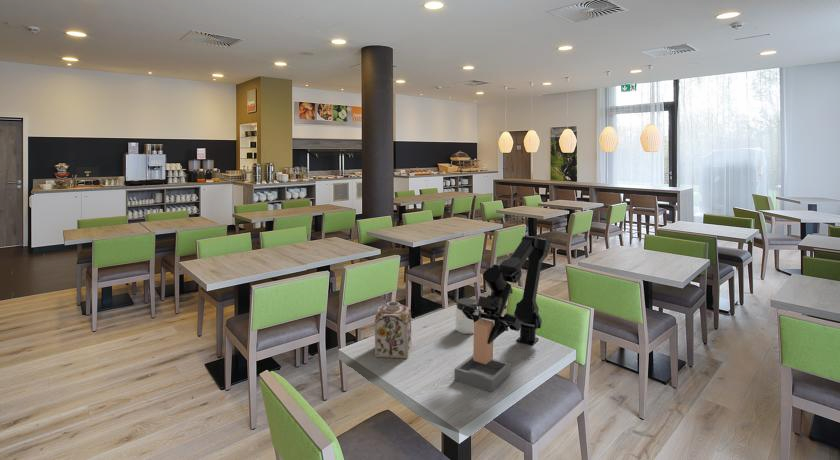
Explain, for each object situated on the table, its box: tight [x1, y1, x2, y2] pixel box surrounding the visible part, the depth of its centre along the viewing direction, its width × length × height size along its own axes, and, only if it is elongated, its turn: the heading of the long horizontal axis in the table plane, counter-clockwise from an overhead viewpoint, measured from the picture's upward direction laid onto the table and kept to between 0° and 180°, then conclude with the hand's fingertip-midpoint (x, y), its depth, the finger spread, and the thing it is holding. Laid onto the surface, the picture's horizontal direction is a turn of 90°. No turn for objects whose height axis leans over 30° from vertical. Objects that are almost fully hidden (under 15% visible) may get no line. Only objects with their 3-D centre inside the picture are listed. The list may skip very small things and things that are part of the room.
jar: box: [455, 297, 479, 335], centre depth 184 cm, size 9×8×12 cm
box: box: [454, 354, 511, 393], centre depth 147 cm, size 13×13×4 cm
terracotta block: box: [472, 318, 494, 364], centre depth 145 cm, size 4×4×12 cm
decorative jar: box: [374, 301, 412, 360], centre depth 164 cm, size 12×12×18 cm
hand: (481, 341), depth 144 cm, fingers closed on terracotta block, 4 cm apart
